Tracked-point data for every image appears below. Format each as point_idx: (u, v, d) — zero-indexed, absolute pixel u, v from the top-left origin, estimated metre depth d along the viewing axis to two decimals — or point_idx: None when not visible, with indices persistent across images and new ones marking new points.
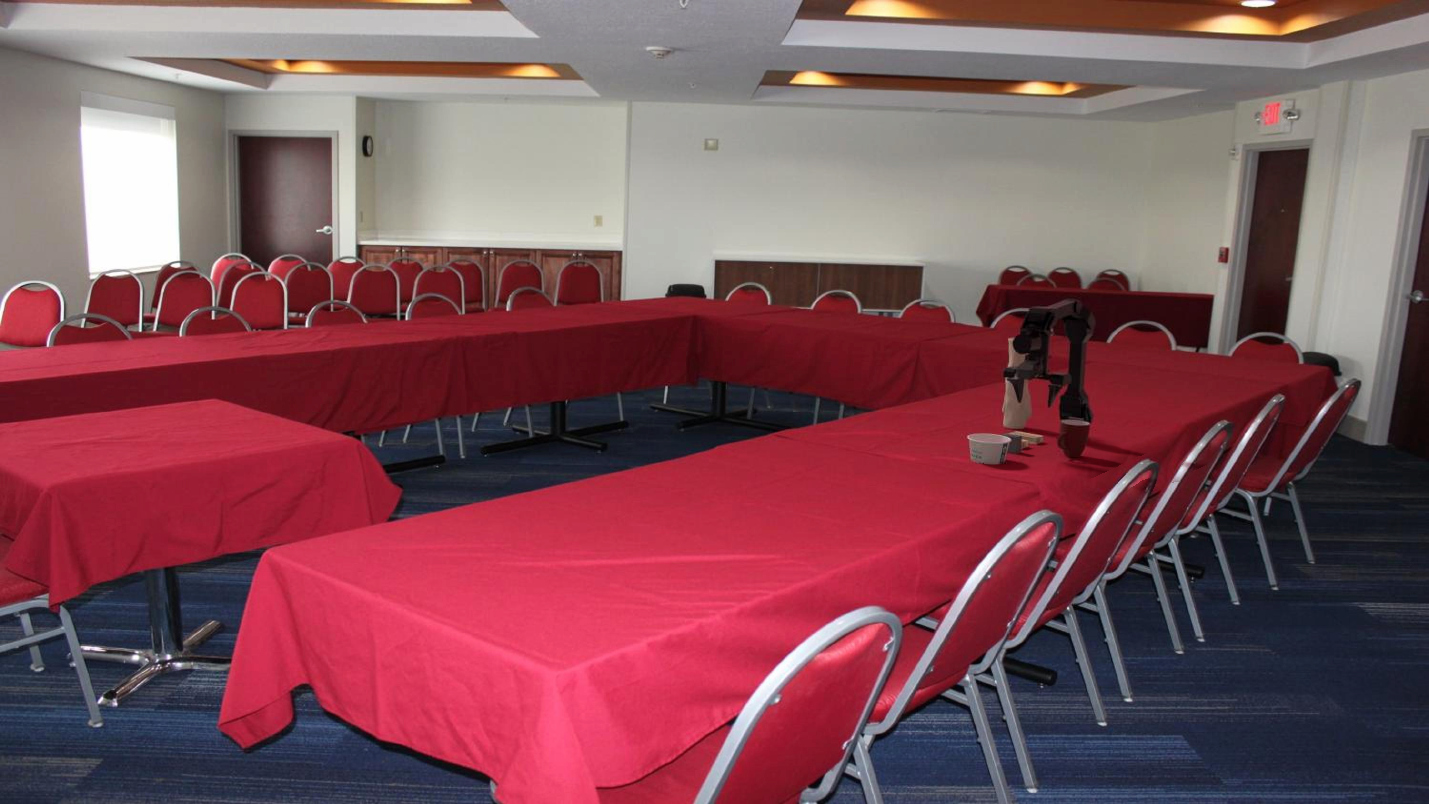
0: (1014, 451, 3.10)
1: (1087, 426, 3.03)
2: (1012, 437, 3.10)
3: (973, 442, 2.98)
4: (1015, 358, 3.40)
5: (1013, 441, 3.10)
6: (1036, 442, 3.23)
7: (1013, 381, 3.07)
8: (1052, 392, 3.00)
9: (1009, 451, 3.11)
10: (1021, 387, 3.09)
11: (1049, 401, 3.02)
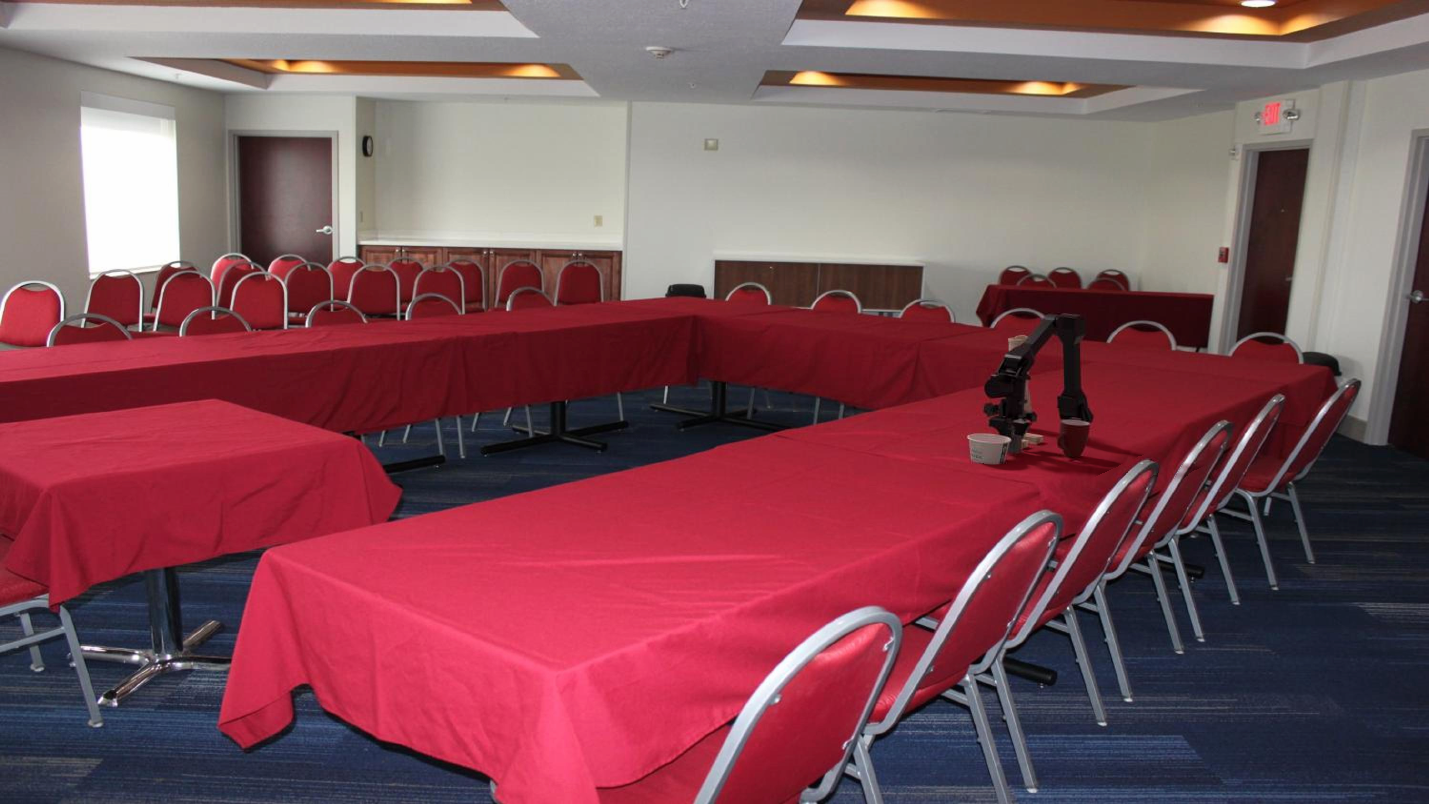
0: (1014, 451, 3.10)
1: (1087, 426, 3.03)
2: (1012, 437, 3.10)
3: (973, 442, 2.98)
4: None
5: (1013, 441, 3.10)
6: (1036, 442, 3.23)
7: None
8: None
9: (1009, 451, 3.11)
10: (1020, 432, 3.13)
11: None
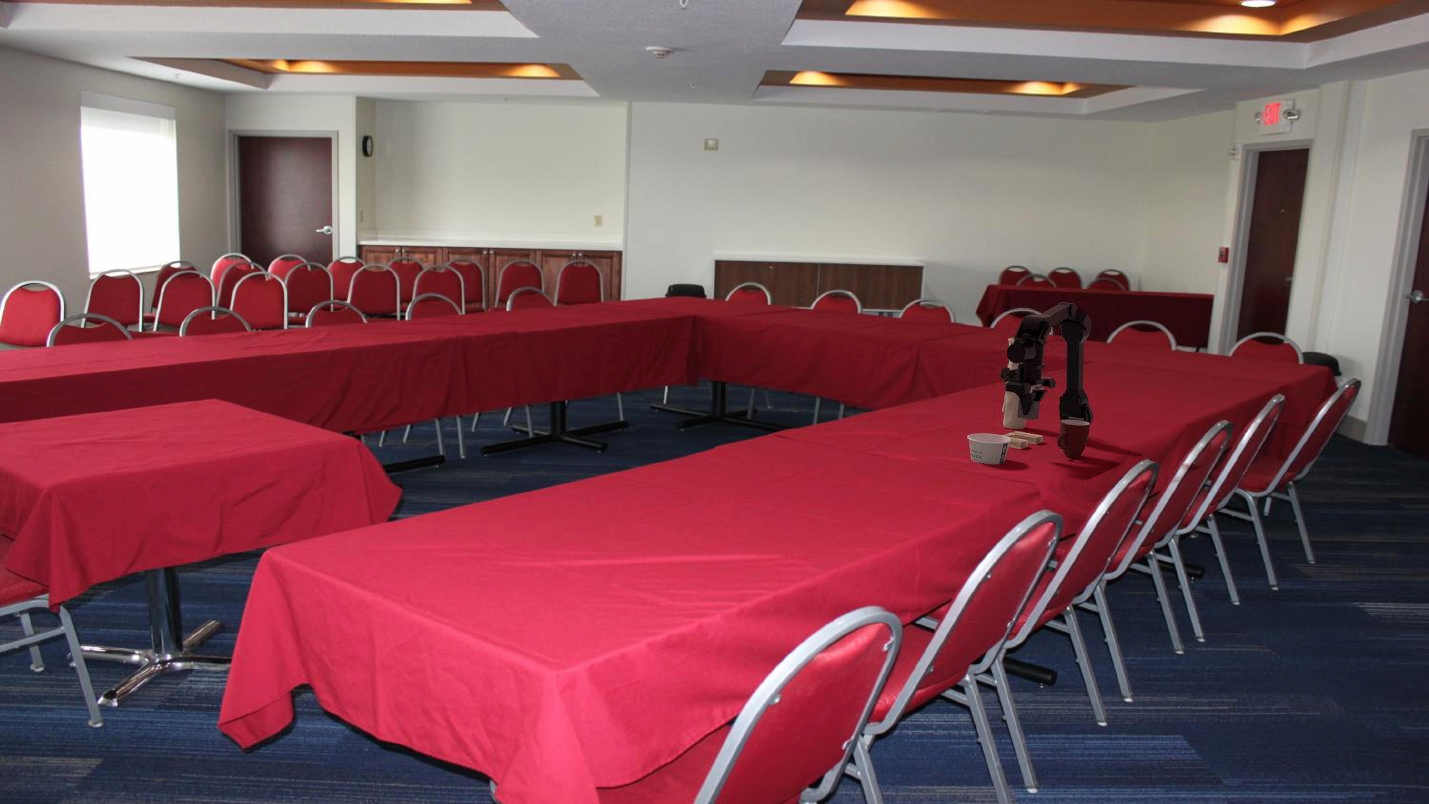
0: (1031, 417, 3.02)
1: (1087, 426, 3.03)
2: None
3: (973, 442, 2.98)
4: None
5: None
6: (1036, 442, 3.23)
7: None
8: None
9: (1026, 417, 3.04)
10: (1035, 399, 3.05)
11: None
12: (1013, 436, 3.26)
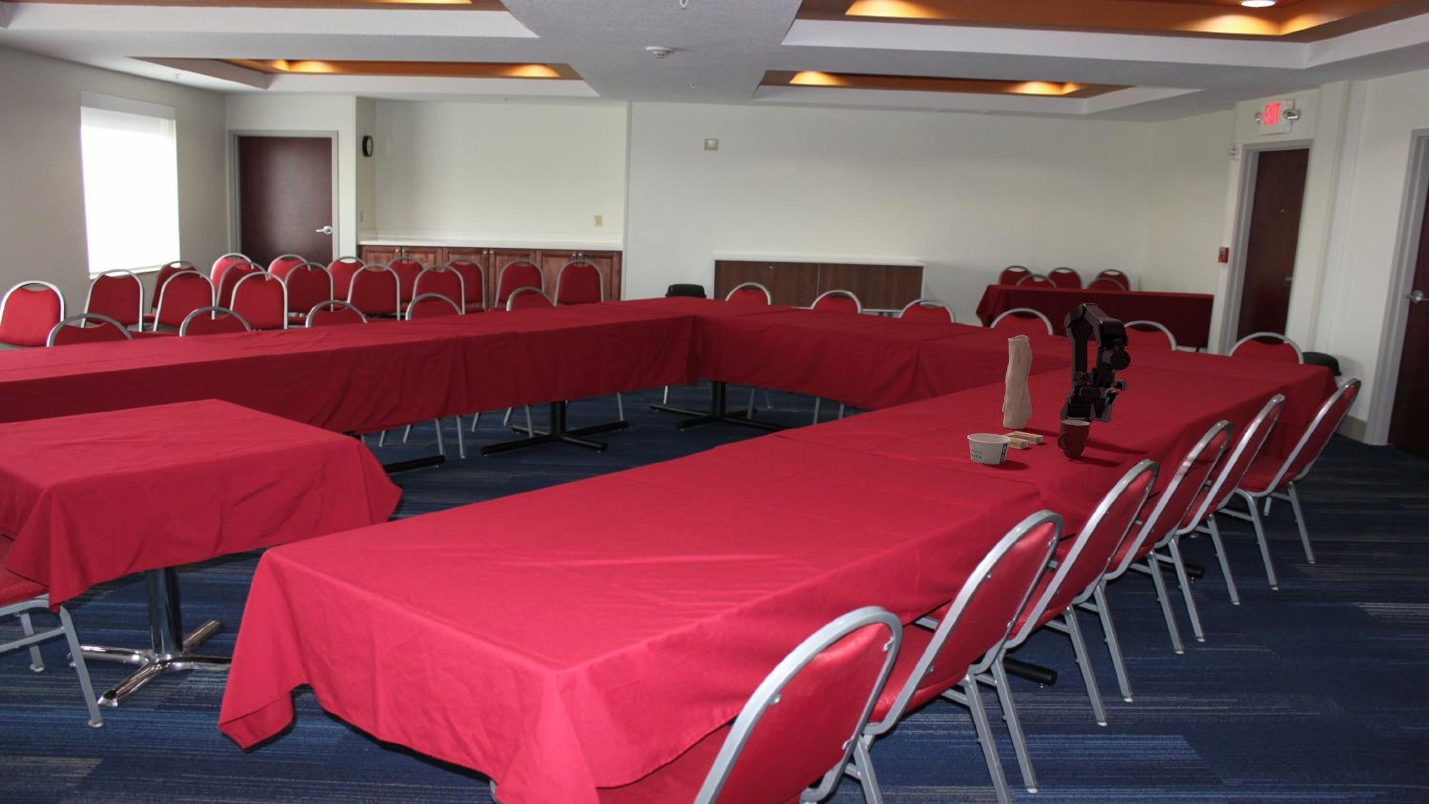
0: (1105, 420, 3.05)
1: (1087, 426, 3.03)
2: None
3: (973, 442, 2.98)
4: (1015, 358, 3.40)
5: (1104, 410, 3.05)
6: (1036, 442, 3.23)
7: None
8: None
9: (1099, 420, 3.06)
10: (1107, 401, 3.07)
11: None
12: (1013, 436, 3.26)
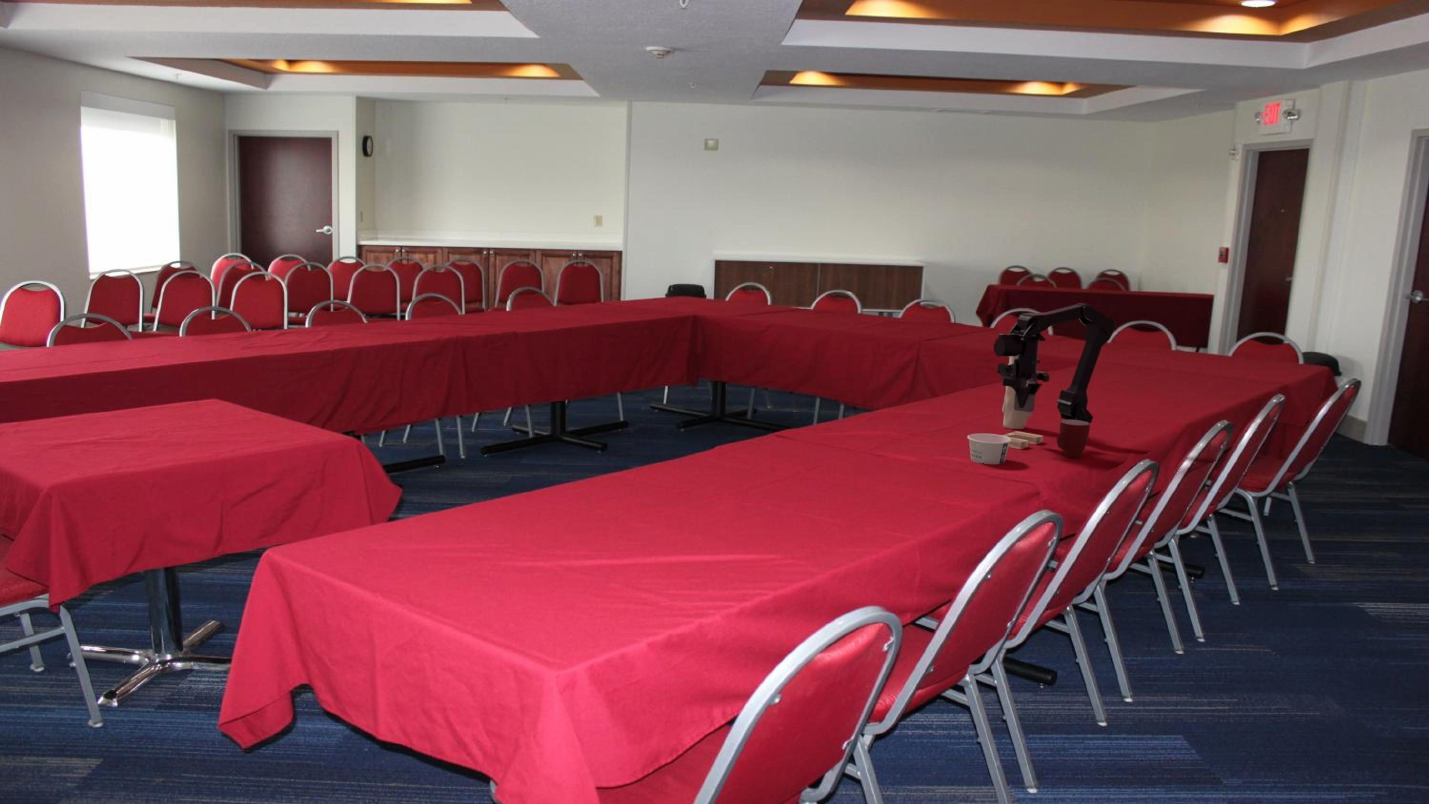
0: (1027, 409, 3.19)
1: (1087, 426, 3.03)
2: None
3: (973, 442, 2.98)
4: (1015, 358, 3.40)
5: (1026, 400, 3.18)
6: (1036, 442, 3.23)
7: None
8: None
9: (1022, 409, 3.20)
10: (1030, 392, 3.21)
11: None
12: (1013, 436, 3.26)
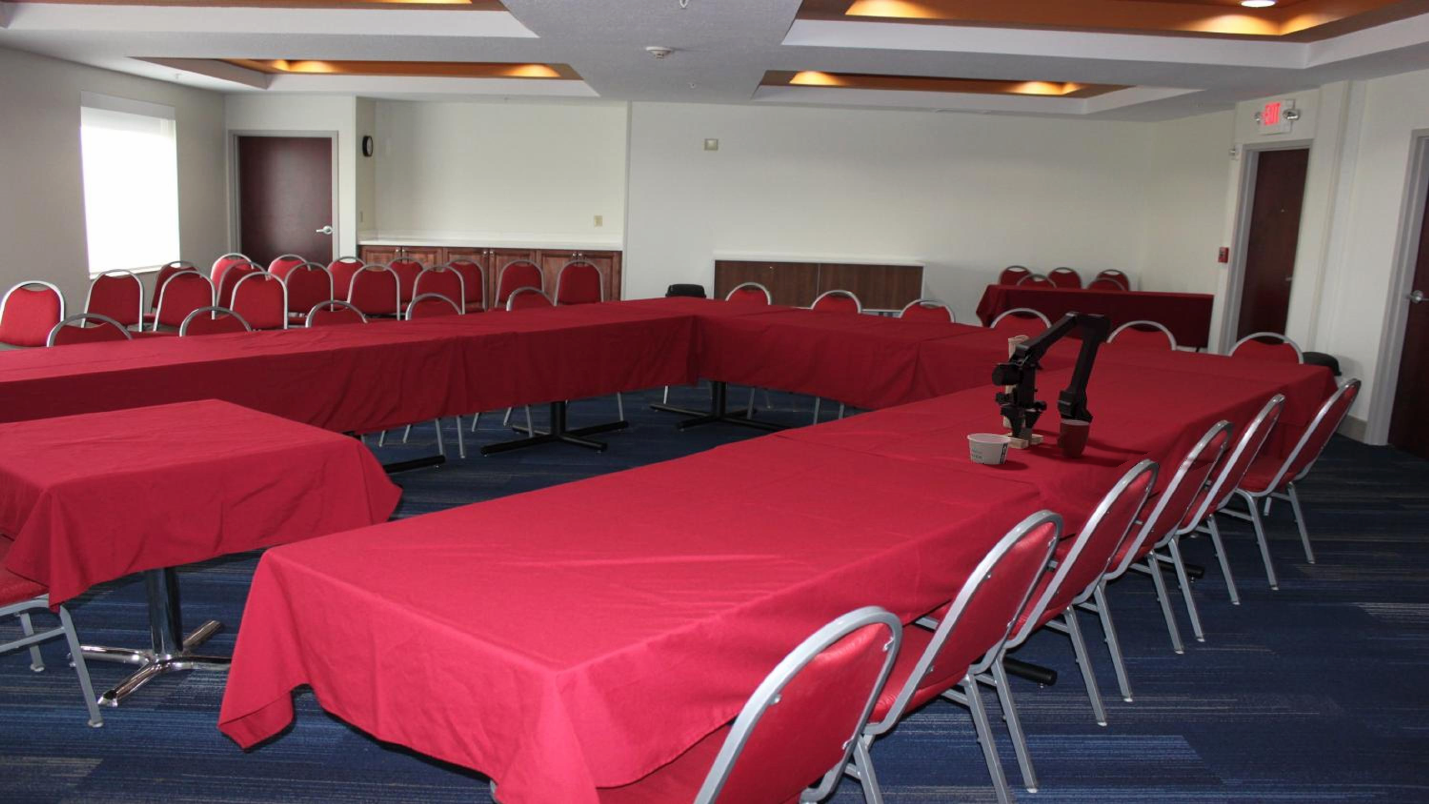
0: None
1: (1087, 426, 3.03)
2: (1023, 430, 3.20)
3: (973, 442, 2.98)
4: None
5: (1024, 434, 3.20)
6: (1036, 442, 3.23)
7: None
8: None
9: None
10: (1031, 420, 3.24)
11: None
12: None
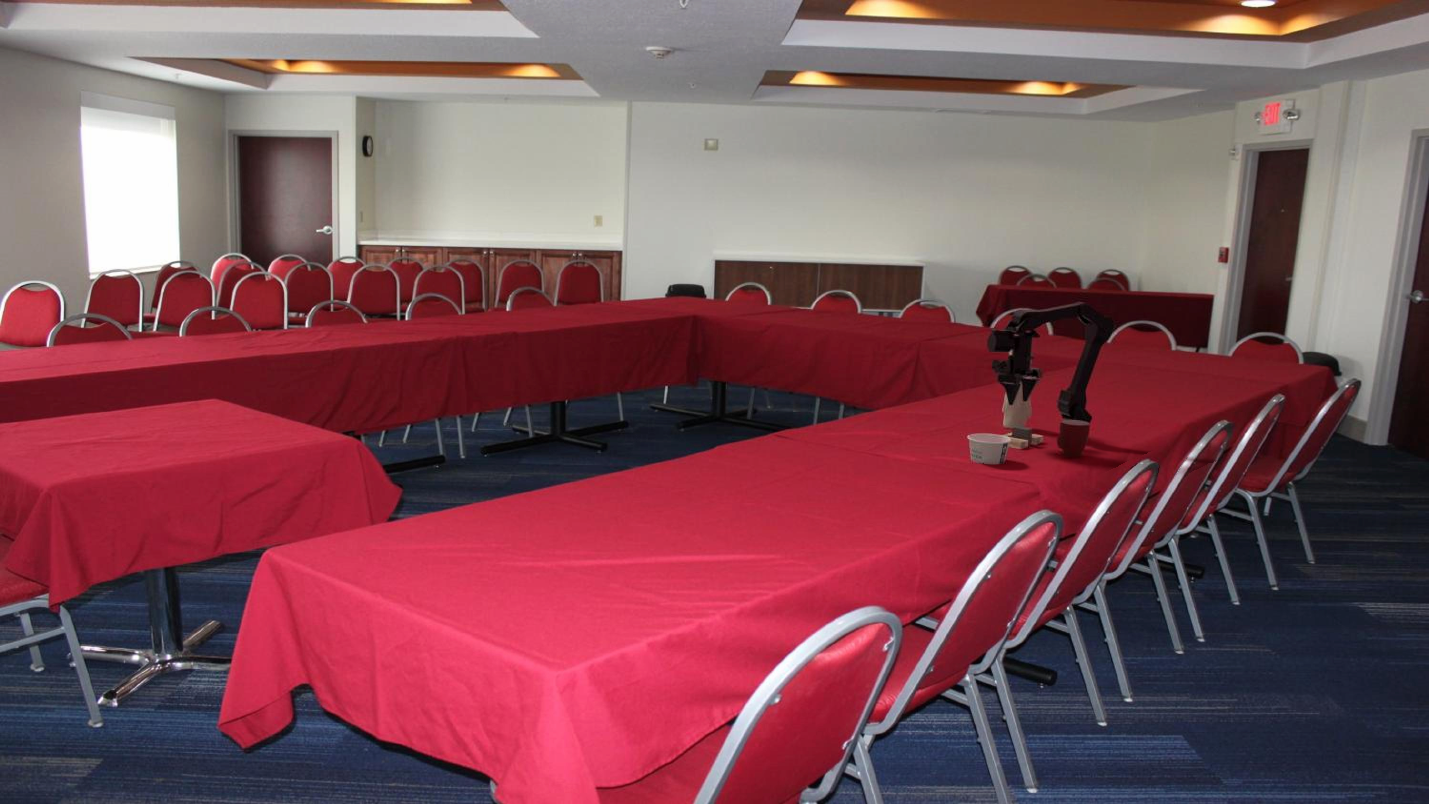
0: None
1: (1087, 426, 3.03)
2: (1023, 430, 3.20)
3: (973, 442, 2.98)
4: None
5: (1024, 434, 3.20)
6: (1036, 442, 3.23)
7: None
8: None
9: None
10: (1028, 387, 3.25)
11: None
12: None
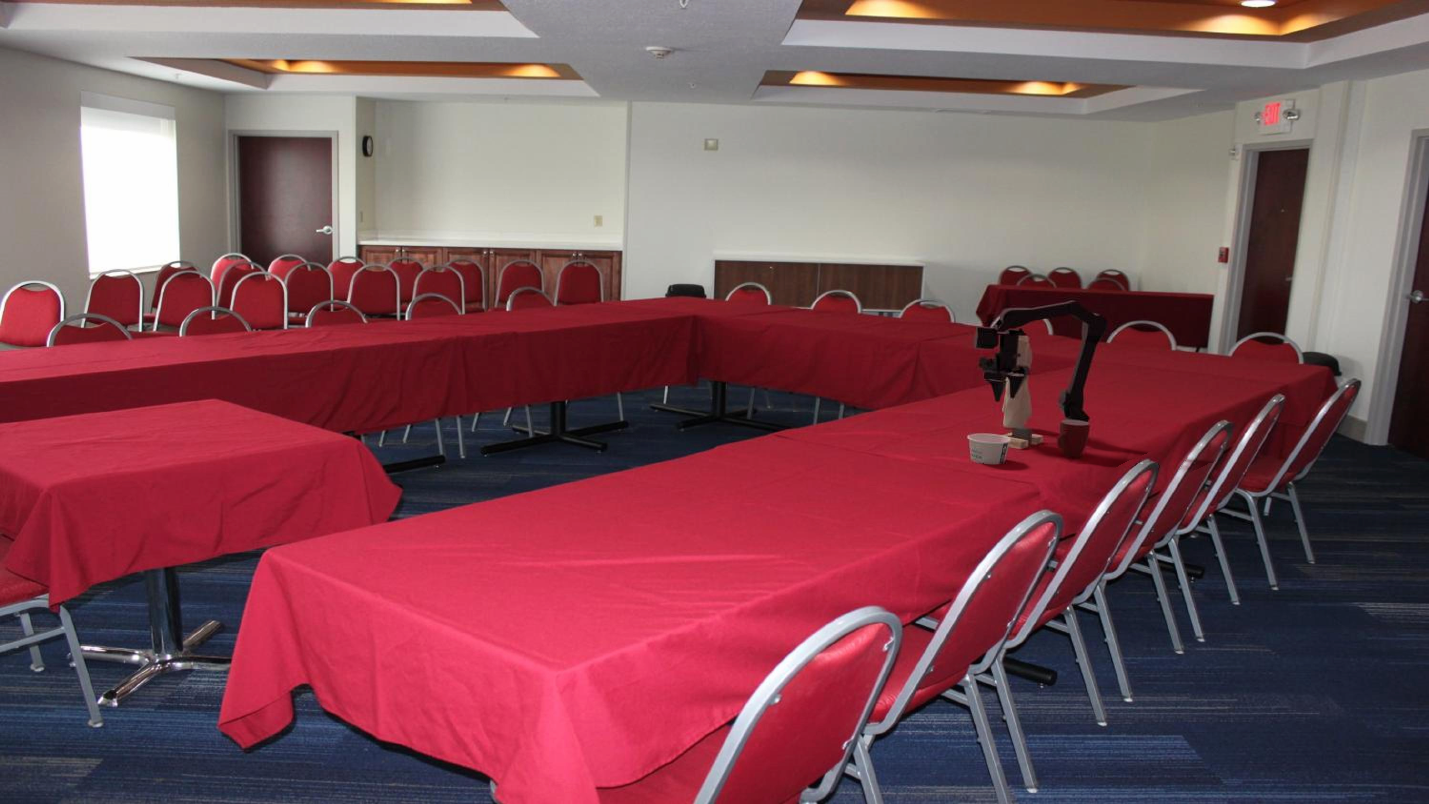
0: None
1: (1087, 426, 3.03)
2: (1023, 430, 3.20)
3: (973, 442, 2.98)
4: None
5: (1024, 434, 3.20)
6: (1036, 442, 3.23)
7: None
8: None
9: None
10: (1015, 384, 3.31)
11: None
12: None
